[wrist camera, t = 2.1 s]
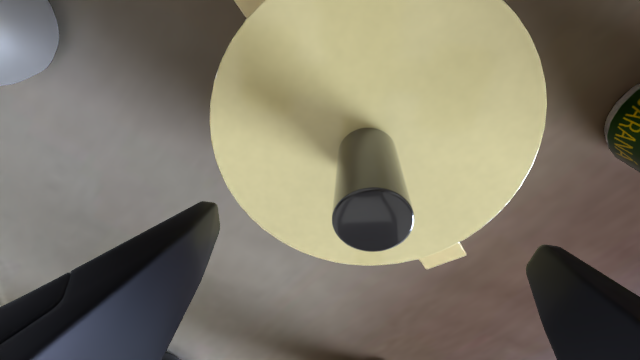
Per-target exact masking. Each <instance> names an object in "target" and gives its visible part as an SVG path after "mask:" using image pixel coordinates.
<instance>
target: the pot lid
mask: <svg viewBox="0 0 640 360" xmlns="http://www.w3.org/2000/svg"><path fill="white" fill-rule="evenodd" d="M546 108H547V99H546V84H545V78H544V73H543V69H542V65H541V61H540V57H539V55H538V52H537V50H536V48H535V45H534V43H533V41H532V38H531V36H530V34H529V33H528V31H527V30H526V28H525V27H524V25H523V23H522V22H521V20H520V19H519V17H518V16H517V14H516V13H515V12H514V11H513V10H512V9H511V8H510V7H509V6H508V5H507V4H506V3H505V2H504V0H264V1H263V2H262V3H261V4H260V5H259V6H258V7H257V9H256V10H255V11H254V12H253V13H252V14H251V15H250V16H249V17H248V18H247V19H246V20H245V22H244V23H243V24H242V26H241V27H240V29H239V30H238V31H237V33H236V34H235V36H234V37H233V38H232V40H231V42H230V44H229V46H228V48H227V50H226V52H225V54H224V56H223V58H222V60H221V62H220V65H219V68H218V71H217V74H216V77H215V80H214V85H213V90H212V96H211V101H210V132H211V142H212V146H213V150H214V155H215V159H216V162H217V164H218V167H219V170H220V172H221V175H222V177H223V179H224V181H225V183H226V185H227V187H228V189H229V190H230V192H231V193H232V195H233V196H234V198H235V199H236V201H237V202H238V204H239V205H240V206H241V207H242V209H243V210H244V211H245V212H246V213H247V214H248V215H249V217H250V218H251V219H253V220H254V221H255V222H256V223H257V224H258V225H259V226H260V227H261V228H262V229H264V230H265V231H266V232H268V233H269V234H271V235H272V236H273V237H275V238H276V239H278V240H279V241H281V242H283V243H285V244H286V245H288V246H290V247H292V248H294V249H296V250H298V251H301V252H303V253H305V254H308V255H311V256H314V257H317V258H320V259H324V260H328V261H332V262H337V263H344V264H350V265H367V266H369V265H388V264H396V263H402V262H407V261H412V260H416V259H420V258H423V257H426V256H429V255H432V254H435V253H437V252H440V251H442V250H444V249H447V248H449V247H451V246H453V245H455V244H457V243H459V242H460V241H462V240H464V239H466V238H467V237H469V236H470V235H472V234H473V233H475V232H476V231H478V230H479V229H481V228H482V227H483V226H484V225H486V224H487V223H488V222H489V221H490V220H491V219H493V218H494V217H495V216H496V215H497V214H498V213H499V212H500V211H501V210H502V209H503V208H504V207H505V205H506V204H507V203H508V202H509V201H510V200H511V199H512V197H513V196H514V195H515V193H516V192H517V190H518V189H519V188H520V186H521V185H522V183H523V182H524V180H525V178H526V176H527V175H528V173H529V171H530V169H531V167H532V165H533V163H534V160H535V158H536V155H537V153H538V150H539V148H540V144H541V140H542V136H543V132H544V127H545V119H546Z"/></svg>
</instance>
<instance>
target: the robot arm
mask: <svg viewBox="0 0 640 360" xmlns="http://www.w3.org/2000/svg"><path fill="white" fill-rule="evenodd" d="M219 230H220V222H219V214H218V207H217V204H215V203H212V202H204V201H202V202H199V203H197V204H196V205H194V206H192V207H190V208H188V209H186V210H184V211H182V212H181V213H179V214H177V215H175V216H173V217H171V218H169V219H167V220H166V221H164V222H162V223H160V224H158V225H156V226H154V227H152V228H151V229H149V230H147V231H145V232H143V233H141V234H139V235H138V236H136V237H134V238H132V239H130V240H128V241H126V242H124V243H123V244H121V245H119V246H117V247H115V248H113V249H111V250H109V251H108V252H106V253H104V254H102V255H100V256H98V257H96V258H94V259H93V260H91V261H89V262H87V263H85V264H83V265H81V266H79V267H78V268H76V269H74V270H72V271H71V273H66V274H64V275H62V276H61V277H59V278H57V279H55V280H53V281H51V282H49V283H47V284H45V285H44V286H42V287H40V288H38V289H36V290H34V291H32V292H30V293H28V294H26V295H24V296H22V297H20V298H18V299H16V300H14V301H12V302H10V303H8V304H6V305H4V306H2V307H0V360H162V358H163V356H164V354H165V352H166V350H167V348H168V346H169V344H170V342H171V340H172V338H173V336H174V334H175V332H176V330H177V328H178V326H179V324H180V322H181V320H182V318H183V316H184V314H185V312H186V310H187V308H188V306H189V304H190V302H191V300H192V298H193V296H194V294H195V292H196V290H197V288H198V286H199V284H200V282H201V280H202V277H203V275H204V272H205V269H206V267H207V264H208V261H209V259H210V256H211V253H212V250H213V248H214V245H215V242H216V239H217V237H218V234H219ZM526 274H527V277H528V280H529V284H530V287H531V290H532V293H533V296H534V299H535V303H536V306H537V309H538V312H539V315H540V318H541V321H542V324H543V327H544V330H545V332H546V335H547V337H548V339H549V342H550V344H551V346H552V349H553V351H554V353H555V356H556V358H557V360H640V297H639V296H637V295H636V294H634V293H632V292H631V291H629V290H628V289H626V288H625V287H623V286H621V285H620V284H618V283H617V282H615V281H613V280H612V279H610V278H609V277H607V276H605V275H604V274H602V273H601V272H599V271H597V270H596V269H594V268H593V267H591V266H589V265H588V264H586V263H585V262H583V261H581V260H580V259H578V258H577V257H575V256H574V255H572V254H570V253H569V252H567V251H566V250H564V249H562V248H561V247H558V246H551V245H541V246H540V247H538V249H537V250H536V252H535V253H534V255H533V256H532V258H531V260H530V261H529V263H528V264H527V267H526Z"/></svg>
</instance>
